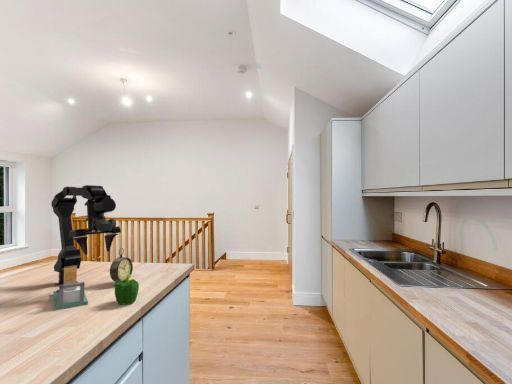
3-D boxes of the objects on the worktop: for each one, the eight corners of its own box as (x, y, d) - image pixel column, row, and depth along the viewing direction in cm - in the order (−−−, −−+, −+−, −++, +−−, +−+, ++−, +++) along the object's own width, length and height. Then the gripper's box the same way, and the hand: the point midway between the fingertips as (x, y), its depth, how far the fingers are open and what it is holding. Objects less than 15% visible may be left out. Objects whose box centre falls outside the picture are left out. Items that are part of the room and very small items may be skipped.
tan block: (63, 293, 112) (64, 266, 113) (75, 292, 115) (76, 265, 115) (64, 301, 104) (65, 272, 104) (77, 299, 106) (78, 270, 106)
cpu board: (53, 294, 116) (54, 274, 116) (82, 290, 122) (83, 271, 122) (54, 310, 100) (55, 286, 100) (87, 304, 105) (88, 282, 106)
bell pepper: (127, 308, 103) (128, 279, 103) (109, 305, 105) (110, 277, 106) (143, 300, 111) (144, 274, 111) (126, 297, 113) (127, 272, 114)
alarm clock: (117, 287, 126) (118, 250, 126) (106, 286, 127) (107, 249, 127) (133, 281, 136) (134, 246, 137) (123, 280, 138) (124, 245, 138)
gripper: (82, 213, 108) (84, 255, 106) (127, 212, 124) (130, 248, 122) (67, 216, 114) (69, 256, 112) (112, 215, 130) (114, 250, 128)
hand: (97, 253), depth 119 cm, fingers open, 9 cm apart
